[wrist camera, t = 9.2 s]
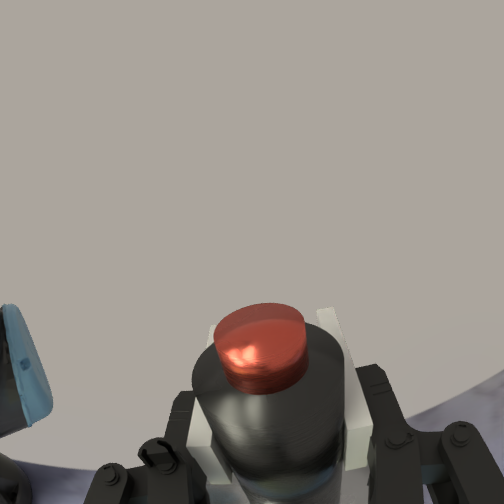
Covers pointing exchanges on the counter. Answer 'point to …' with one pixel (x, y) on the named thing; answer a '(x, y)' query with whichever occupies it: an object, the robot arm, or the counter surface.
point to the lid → (277, 410)
